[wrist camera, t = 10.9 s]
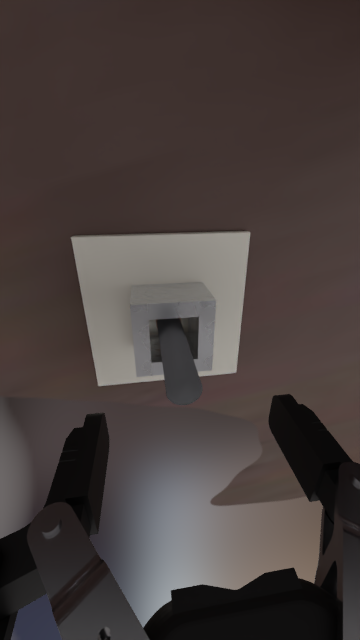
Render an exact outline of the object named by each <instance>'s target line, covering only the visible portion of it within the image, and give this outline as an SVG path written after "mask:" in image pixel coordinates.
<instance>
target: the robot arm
mask: <svg viewBox="0 0 360 640" xmlns="http://www.w3.org/2000/svg"><path fill="white" fill-rule="evenodd" d="M269 427H270V430H271V432H272V434H273V436H274V438H275V439H276V441H277V443H278V445H279V447H280V449H281V450H282V452H283V454H284V456H285V458H286V460H287V461H288V463H289V465H290V467H291V469H292V470H293V472H294V474H295V476H296V478H297V480H298V481H299V483H300V485H301V487H302V489H303V491H304V492H305V494H306V496H307V498H308V500H309V501H310V502H312V501H318V500H320V502H321V503H322V505H323V509H322V519H321V535H320V551H319V561H318V567H317V571H316V576H315V582H314V584H313V583H311V582H309V581H306V580H303V579H299V578H298V576H297V574H296V572H295V569H294V568H289V569H283V570H278V571H273V572H268V573H264V574H263V575H261V576H259V577H258V578H256V579H255V580H253V581H251V582H250V583H248V584H247V585H245V586H243V587H242V588H240V589H238V590H231V589H225V588H220V587H213V586H208V585H197V586H192V587H187V588H181V589H176V590H172V591H171V597H172V600H171V601H170V602H168V603H167V604H165V605H164V606H162V607H161V608H160V609H159V610H158V611H157V612H156V613H155V614H154V615H153V616H152V617H151V618H150V620H149V621H148V622H147V624H146V625H145V626H144V628H143V627H142V625H141V624H140V622H139V620H138V619H137V617H136V615H135V613H134V612H133V610H132V608H131V606H130V604H129V603H128V601H127V599H126V597H125V596H124V594H123V592H122V590H121V589H120V587H119V585H118V583H117V582H116V580H115V578H114V576H113V575H112V573H111V571H110V569H109V568H108V566H107V564H106V563H105V562H104V560H102V559H101V558H100V557H99V555H98V553H97V551H96V550H95V548H94V546H93V544H92V542H91V541H90V539H89V537H90V535H92V534H98V531H99V523H100V515H101V507H102V500H103V492H104V485H105V477H106V470H107V462H108V454H109V434H108V428H107V423H106V417H105V413H95V414H87V415H86V418H85V422H84V426H83V427H81V428H74V429H73V431H72V432H71V433H70V434H69V436H68V437H67V438H66V441H65V444H64V447H63V452H62V453H61V457H60V460H59V464H58V466H57V470H56V473H55V476H54V479H53V482H52V486H51V489H50V492H49V495H48V498H47V501H46V504H45V506H44V508H43V509H42V510H41V511H40V512H39V513H38V514H37V515H36V516H35V518H34V519H33V521H32V522H31V523H30V524H28V525H27V526H25V527H24V528H22V529H20V530H18V531H16V532H14V533H12V534H10V535H8V536H6V537H4V538H1V539H0V640H11V636H12V632H13V628H14V624H15V621H16V617H17V613H18V610H19V609H21V608H23V607H24V606H26V605H28V604H29V603H31V602H33V601H35V600H36V599H38V598H40V597H41V596H43V595H45V594H46V593H47V595H48V598H49V601H50V603H51V606H52V612H53V615H54V618H55V621H56V624H57V626H58V629H59V632H60V635H61V637H62V640H360V464H358V463H355V462H353V461H352V460H351V459H350V458H349V456H348V455H347V454H346V452H345V451H344V450H343V449H342V447H341V446H340V445H339V444H338V442H337V441H336V440H335V439H334V437H333V436H332V435H331V434H330V432H329V431H327V429H326V427H325V426H324V425H323V423H321V422H320V420H319V418H318V417H317V416H316V415H315V413H314V412H313V411H312V410H310V409H309V408H307V407H306V406H305V405H303V404H298V403H297V402H296V400H295V399H294V398H293V396H292V395H290V394H285V395H276V396H273V399H272V403H271V409H270V414H269Z"/></svg>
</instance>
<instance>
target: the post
mask: <svg viewBox="0 0 360 640" xmlns="http://www.w3.org/2000/svg"><path fill="white" fill-rule="evenodd" d="M71 240H72V245H73V251H74V256H75V262H76V267H77V272H78V278H79V283H80V289H81V294H82V300H83V305H84V310H85V316H86V321H87V327H88V332H89V338H90V343H91V349H92V354H93V359H94V365H95V370H96V376H97V381H98V386H105V385H116V384H126V383H136V382H147V381H157V380H165V387H166V394H167V397H168V399H169V400H170V401H171V402H172V403H174V404H177V405H187V404H190V403H193V402H194V401H196V400H197V399H198V398H199V397H200V395H201V393H202V384H201V381H200V378H199V376H209V375H219V374H229V373H236V369H237V359H238V349H239V340H240V330H241V320H242V310H243V300H244V290H245V280H246V270H247V261H248V251H249V241H250V232H248V231H223V232H186V233H150V234H114V235H78V236H72V237H71ZM189 282H203V283H204V285H205V286H206V287H207V289H208V290H209V291H210V293H211V294H212V295H213V297H214V298H215V299H216V314H215V330H214V347H213V364H212V370H210V371H199V372H197V369H196V366H195V363H194V360H193V357H192V354H191V351H190V348H189V345H188V342H187V339H186V336H185V333H184V332H188V318H173V319H157V320H149V333H150V335H155V334H158V335H159V342H160V350H161V357H162V364H163V372H164V375H154V376H143V377H137V376H136V366H135V355H134V344H133V334H132V323H131V313H130V298H131V288H132V285H145V284H167V283H189Z"/></svg>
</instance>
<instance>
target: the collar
mask: <svg viewBox="0 0 360 640" xmlns="http://www.w3.org/2000/svg"><path fill="white" fill-rule="evenodd" d="M130 313H131V323H132V334H133V344H134V355H135V366H136V376H137V377H143V376H154V375H164V372H163V364H162V357H161V350H160V342H159V335H158V334H155V335H150V333H149V320H157V319H173V318H188V332H184V333H185V336H186V339H187V342H188V345H189V348H190V351H191V354H192V357H193V360H194V363H195V366H196V369H197V372H199V371H210V370H212V364H213V347H214V330H215V314H216V299H215V298H214V297H213V295H212V294H211V293H210V291H209V290H208V289H207V287H206V286H205V285H204V283H203V282H189V283H167V284H145V285H132V288H131V298H130Z"/></svg>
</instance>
